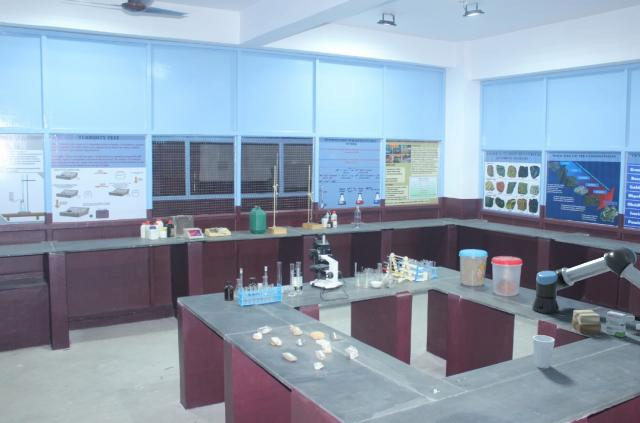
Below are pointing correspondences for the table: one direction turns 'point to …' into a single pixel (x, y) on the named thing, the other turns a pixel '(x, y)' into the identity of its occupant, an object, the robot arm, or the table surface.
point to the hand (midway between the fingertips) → (629, 322)
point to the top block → (586, 317)
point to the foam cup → (543, 350)
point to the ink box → (615, 324)
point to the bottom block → (586, 327)
